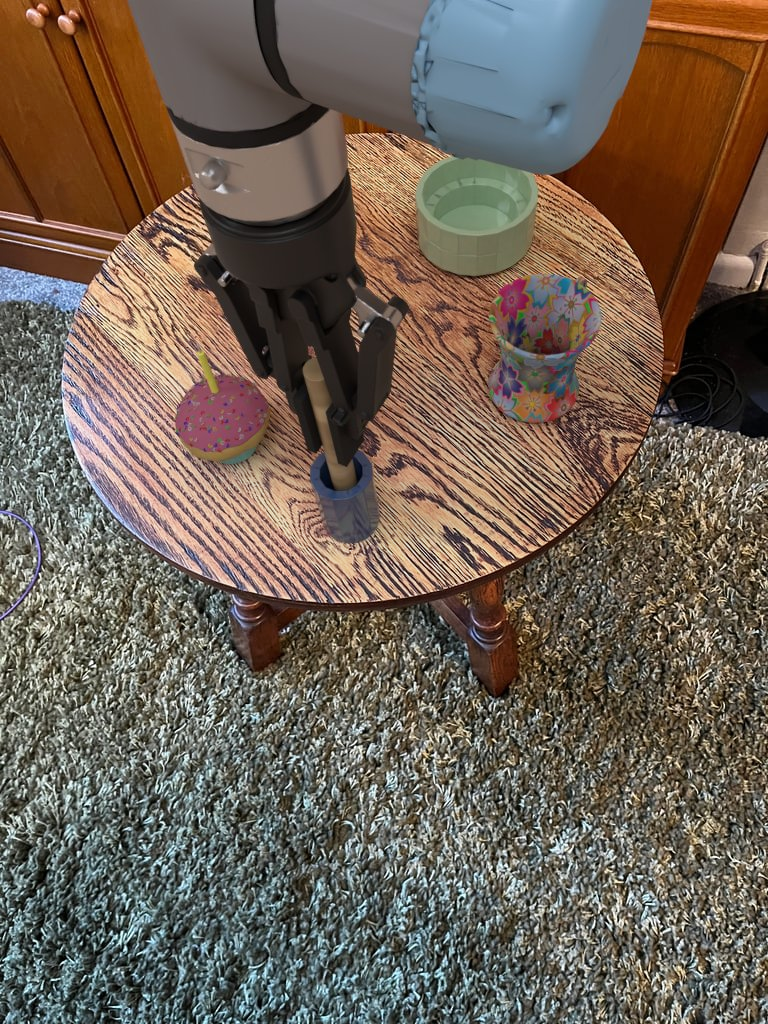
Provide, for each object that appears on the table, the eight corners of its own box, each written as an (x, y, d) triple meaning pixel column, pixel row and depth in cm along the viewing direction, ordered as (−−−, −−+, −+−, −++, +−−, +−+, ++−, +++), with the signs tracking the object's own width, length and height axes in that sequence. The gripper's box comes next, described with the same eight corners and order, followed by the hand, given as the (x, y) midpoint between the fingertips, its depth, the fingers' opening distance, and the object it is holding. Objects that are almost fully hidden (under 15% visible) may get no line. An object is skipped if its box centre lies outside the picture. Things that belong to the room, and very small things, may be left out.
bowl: (550, 217, 84) (557, 170, 79) (503, 294, 80) (507, 249, 74) (448, 186, 88) (448, 139, 83) (397, 258, 83) (394, 213, 78)
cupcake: (187, 417, 75) (144, 334, 65) (272, 399, 75) (244, 313, 65) (195, 491, 71) (151, 416, 60) (285, 471, 71) (257, 393, 61)
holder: (389, 507, 69) (383, 459, 62) (362, 552, 67) (352, 509, 60) (341, 485, 70) (329, 437, 63) (313, 529, 68) (298, 484, 61)
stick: (367, 509, 68) (338, 362, 50) (356, 527, 67) (323, 385, 49) (348, 500, 68) (312, 352, 51) (337, 518, 67) (296, 374, 50)
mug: (549, 448, 70) (565, 375, 61) (464, 402, 74) (467, 326, 64) (613, 361, 75) (637, 280, 65) (530, 321, 78) (542, 239, 68)
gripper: (104, 185, 38) (226, 446, 59) (369, 276, 34) (400, 523, 54) (191, 96, 41) (278, 375, 61) (446, 170, 37) (447, 443, 57)
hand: (336, 444), depth 58 cm, fingers closed on stick, 2 cm apart
